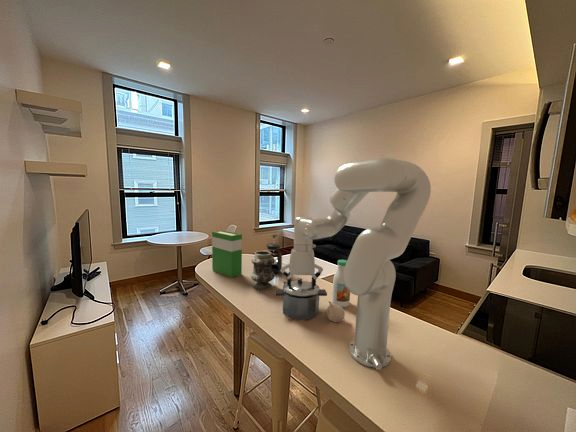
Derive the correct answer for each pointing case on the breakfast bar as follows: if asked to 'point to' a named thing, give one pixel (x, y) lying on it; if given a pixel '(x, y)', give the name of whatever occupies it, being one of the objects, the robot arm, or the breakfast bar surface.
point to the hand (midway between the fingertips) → (301, 287)
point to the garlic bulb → (335, 313)
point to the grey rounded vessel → (262, 270)
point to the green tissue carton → (227, 253)
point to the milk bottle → (340, 287)
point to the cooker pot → (300, 305)
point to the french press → (277, 263)
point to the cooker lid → (301, 288)
